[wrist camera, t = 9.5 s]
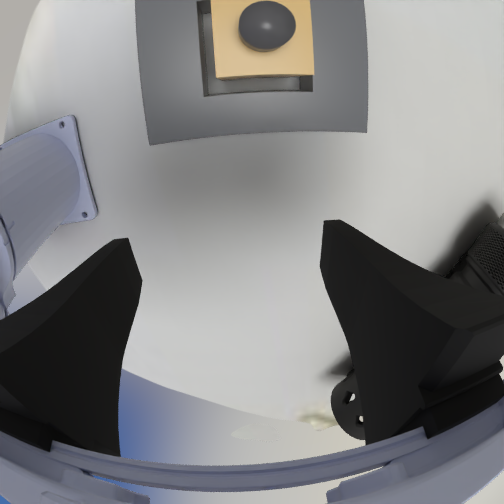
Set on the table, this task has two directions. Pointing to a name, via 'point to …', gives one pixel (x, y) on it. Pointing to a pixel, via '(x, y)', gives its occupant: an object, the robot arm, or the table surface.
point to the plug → (262, 38)
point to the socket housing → (254, 102)
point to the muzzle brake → (464, 272)
